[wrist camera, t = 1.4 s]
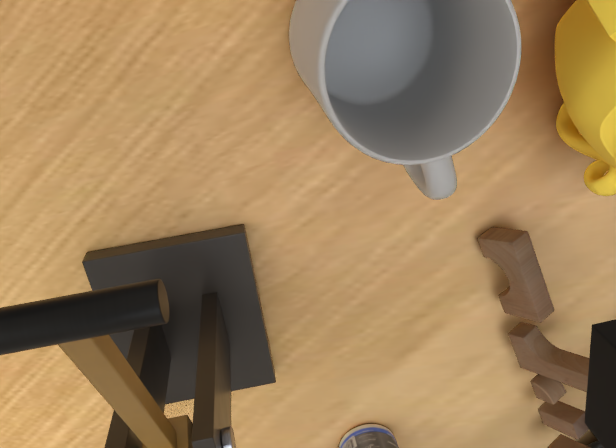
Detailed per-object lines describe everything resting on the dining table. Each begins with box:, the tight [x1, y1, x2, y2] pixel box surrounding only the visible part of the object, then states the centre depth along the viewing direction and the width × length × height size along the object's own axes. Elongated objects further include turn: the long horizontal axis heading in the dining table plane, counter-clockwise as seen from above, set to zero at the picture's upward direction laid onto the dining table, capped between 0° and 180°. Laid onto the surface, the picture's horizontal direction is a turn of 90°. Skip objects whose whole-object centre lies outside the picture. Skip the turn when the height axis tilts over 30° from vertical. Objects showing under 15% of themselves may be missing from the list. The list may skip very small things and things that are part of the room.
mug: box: [289, 0, 521, 200], centre depth 28 cm, size 12×8×11 cm
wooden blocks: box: [477, 227, 604, 448], centre depth 40 cm, size 30×3×7 cm, turn 23°
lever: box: [0, 279, 193, 448], centre depth 23 cm, size 15×6×2 cm, turn 8°
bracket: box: [82, 224, 276, 448], centre depth 33 cm, size 12×10×14 cm
